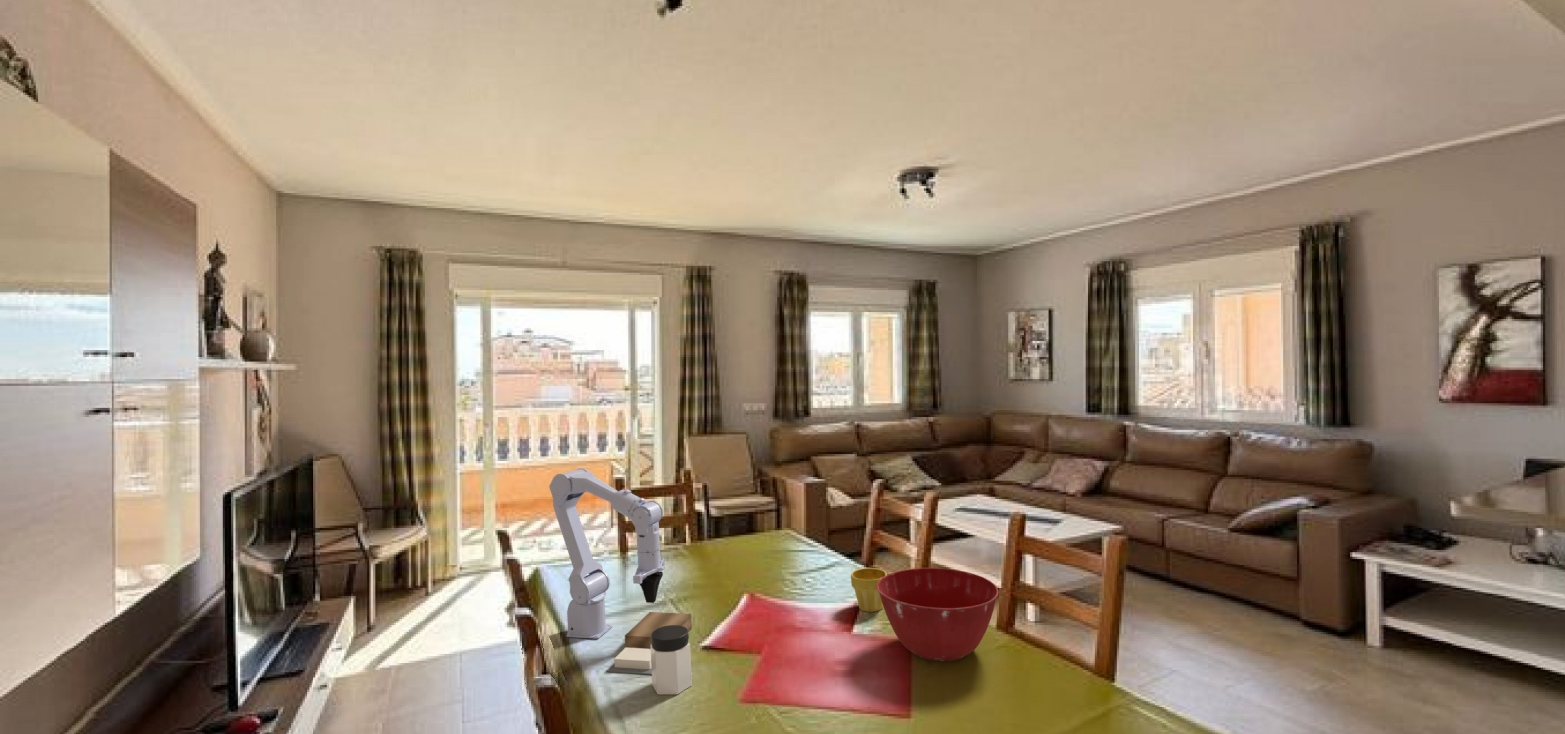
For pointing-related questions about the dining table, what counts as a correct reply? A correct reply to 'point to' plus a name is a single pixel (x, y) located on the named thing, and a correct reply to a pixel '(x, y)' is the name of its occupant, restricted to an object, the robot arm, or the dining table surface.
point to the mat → (629, 670)
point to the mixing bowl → (938, 610)
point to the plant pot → (867, 588)
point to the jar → (670, 660)
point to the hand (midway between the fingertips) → (650, 601)
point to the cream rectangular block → (634, 658)
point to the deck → (654, 627)
